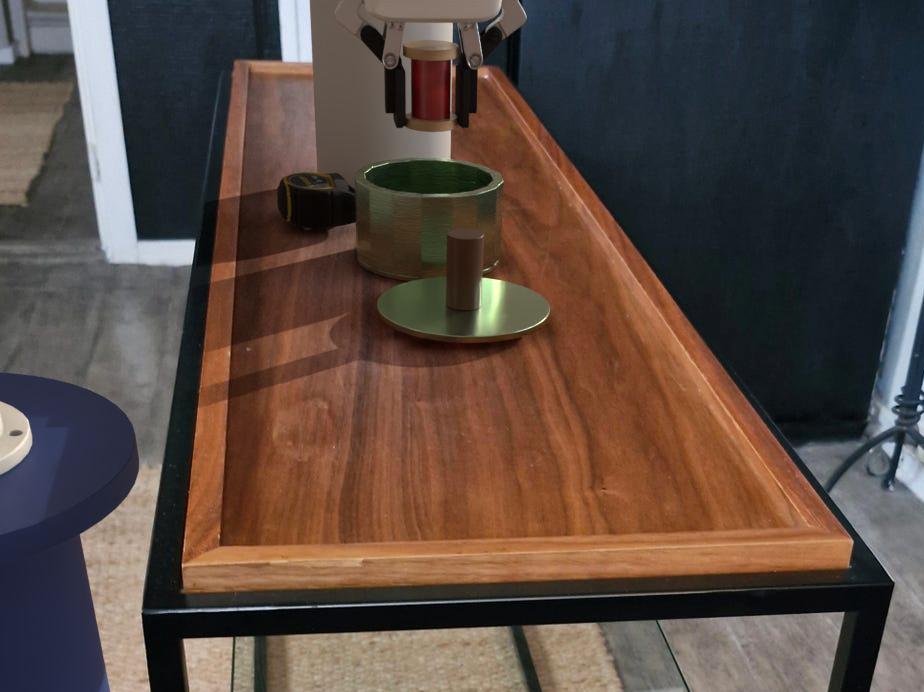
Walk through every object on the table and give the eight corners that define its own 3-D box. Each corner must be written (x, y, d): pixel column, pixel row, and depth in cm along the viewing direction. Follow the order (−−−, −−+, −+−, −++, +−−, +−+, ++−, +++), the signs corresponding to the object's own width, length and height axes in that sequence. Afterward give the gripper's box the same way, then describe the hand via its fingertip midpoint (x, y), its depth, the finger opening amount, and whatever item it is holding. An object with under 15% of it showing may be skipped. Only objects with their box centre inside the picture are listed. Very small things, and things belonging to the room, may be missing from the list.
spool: (406, 132, 92) (405, 50, 89) (401, 119, 95) (400, 39, 92) (461, 132, 93) (462, 50, 89) (454, 119, 96) (455, 40, 93)
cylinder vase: (429, 169, 122) (432, -136, 107) (465, 204, 113) (474, -124, 98) (306, 174, 119) (290, -139, 104) (333, 211, 110) (320, -127, 95)
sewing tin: (362, 283, 95) (359, 197, 91) (353, 238, 104) (351, 157, 100) (509, 281, 96) (513, 196, 93) (488, 237, 105) (490, 157, 101)
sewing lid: (384, 353, 84) (382, 263, 80) (371, 291, 94) (369, 208, 90) (563, 350, 85) (570, 261, 82) (533, 289, 95) (538, 207, 91)
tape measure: (366, 234, 105) (365, 188, 103) (288, 239, 103) (285, 192, 101) (347, 212, 110) (345, 167, 108) (271, 216, 108) (268, 171, 106)
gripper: (543, -170, 87) (529, 112, 98) (305, -177, 84) (319, 113, 96) (563, -164, 81) (546, 135, 92) (308, -172, 79) (322, 136, 90)
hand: (430, 121), depth 94 cm, fingers closed on spool, 4 cm apart
